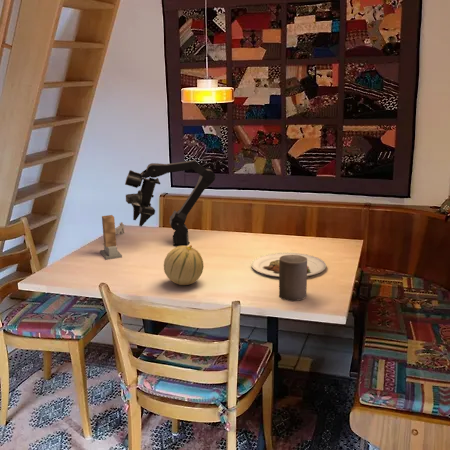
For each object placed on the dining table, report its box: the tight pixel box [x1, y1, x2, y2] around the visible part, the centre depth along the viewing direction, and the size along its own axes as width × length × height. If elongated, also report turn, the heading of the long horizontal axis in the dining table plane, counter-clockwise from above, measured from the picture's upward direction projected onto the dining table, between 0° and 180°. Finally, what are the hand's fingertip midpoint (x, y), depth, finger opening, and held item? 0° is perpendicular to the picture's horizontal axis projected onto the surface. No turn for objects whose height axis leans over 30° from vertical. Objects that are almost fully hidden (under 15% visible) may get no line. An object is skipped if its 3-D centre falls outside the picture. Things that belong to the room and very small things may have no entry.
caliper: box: [102, 221, 125, 245], centre depth 265 cm, size 21×1×6 cm, turn 164°
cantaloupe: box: [163, 244, 204, 286], centre depth 202 cm, size 15×15×15 cm
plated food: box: [250, 252, 327, 278], centre depth 219 cm, size 30×30×3 cm
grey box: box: [99, 244, 123, 261], centre depth 240 cm, size 12×7×4 cm, turn 25°
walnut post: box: [101, 214, 117, 247], centre depth 238 cm, size 4×4×13 cm
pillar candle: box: [278, 255, 308, 302], centre depth 188 cm, size 10×10×15 cm
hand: (137, 223), depth 247 cm, fingers open, 9 cm apart
